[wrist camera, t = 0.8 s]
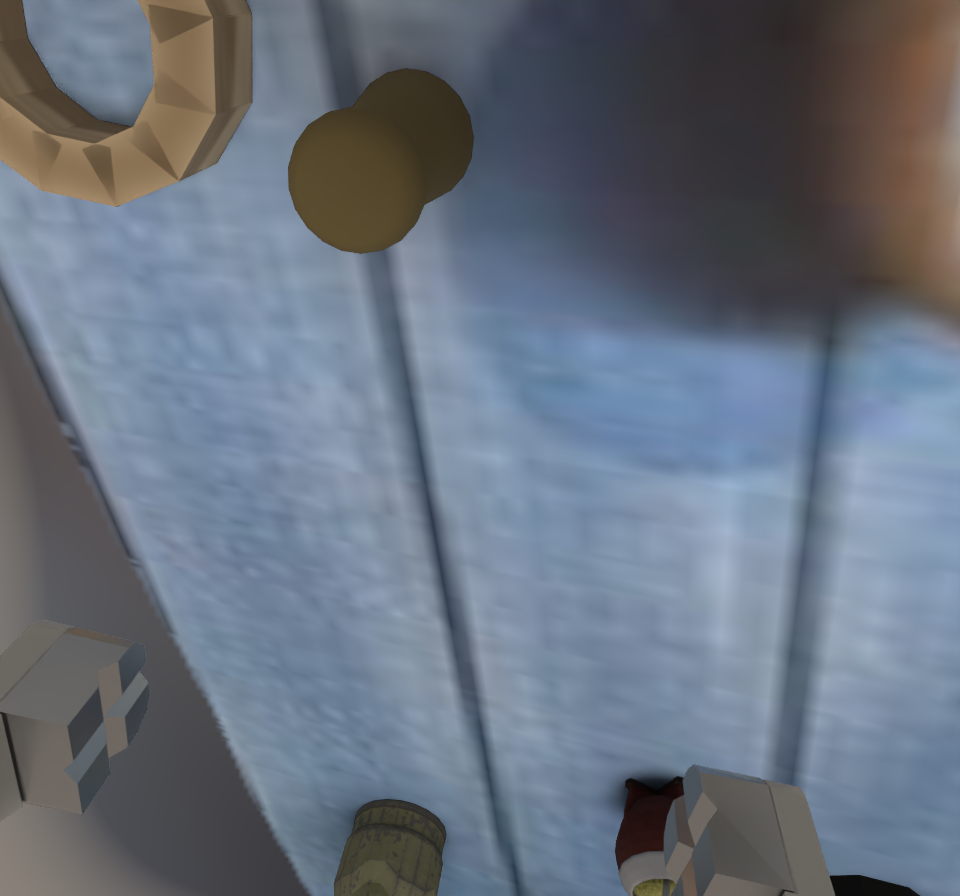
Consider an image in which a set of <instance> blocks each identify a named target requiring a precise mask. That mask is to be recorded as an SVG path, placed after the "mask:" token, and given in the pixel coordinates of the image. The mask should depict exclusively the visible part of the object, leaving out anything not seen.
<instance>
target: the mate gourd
mask: <svg viewBox="0 0 960 896" xmlns="http://www.w3.org/2000/svg"><path fill="white" fill-rule="evenodd" d="M683 779H684V778H682V777H678V776H677V777H676V778H674V779H673V780H672V781H670V782H669V783H667V784H666V785H665V786H663V787H662V788H661V789H659V790H655V789H653V788H651V787H648V786H646V785H644V784H642V783H640V782H638V781H636V780H634V779H631V778H630V779H628V780H627V781H626V782H625V783H626V784H625V787H626V788H628V789H629V793H628V797H627V801H626V805H625V809H624V818H623V820H622V823H621V826H620V830H619V833H618V836H617V840H616V848H615V854H616V861H617V865H618V869H619V876H620V879H621V882H622V885H623V887H624V889H625V890H626V892H627V894H628V895H629V896H671V894H672V892H673V890H674V888H675V886H676V884H675V883H674V881H673V880H672V878H671V877H670V875H669V874H668V872H667V871H666V869H665V861H664V832H665V826H666V821H667V815H668V813H669V810H670V808H671V805H672V803H673V800H675V799H677V798H679V797H681V796H683V795H684V792H683V789H682V788H683Z"/></svg>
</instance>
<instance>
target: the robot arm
mask: <svg viewBox="0 0 960 896" xmlns="http://www.w3.org/2000/svg"><path fill="white" fill-rule="evenodd" d="M145 663H146V655H145V648H144V645H143V644H140V643H137V642H133V641H129V640H125V639H121V638H117V637H113V636H109V635H105V634H101V633H97V632H93V631H89V630H85V629H81V628H77V627H72V626H68V625H64V624H59V623H55V622H51V621H46V620H40V621H38V622H36V623H34V624H32V625H30V626H29V627H28V628H27V629H26V630H25V631H24V632H23V633H22V634H21V635H20V636H19V637H18V638H17V639H16V640H15V641H14V642H13V643H12V644H11V646H9V647H8V648H7V649H6V650H5V651H4V652H3V653H2V655H1V656H0V822H1V821H2V820H3V819H5V818H7V817H8V816H9V815H11V814H12V813H14V812H15V811H17V810H18V809H20V808H21V807H22V805H23V804H22V803H26V804H31V805H36V806H41V807H46V808H52V809H57V810H61V811H66V812H71V813H77V814H83V813H84V812H85V810H86V809H87V807H88V806H89V804H90V803H91V801H92V800H93V798H94V797H95V795H96V793H97V792H98V791H99V789H100V788H101V786H102V785H103V783H104V782H105V780H106V779H107V777H108V776H109V774H110V767H109V757H111V756H112V755H114V754H116V753H118V752H120V751H121V750H123V749H125V748H127V747H128V746H129V744H130V743H131V741H132V740H133V738H134V736H135V735H136V733H137V732H138V730H139V728H140V725H141V723H142V720H143V718H144V715H145V713H146V710H147V705H148V699H149V686H148V682H147V681H146V680H145V678H144V677H143V676H142V675H141V673H140V672H139V671H140V669H141V668H142V667H143V665H144V664H145ZM683 787H684V795H683V796H681V797H679V798H677V799H675V800H673V803H672V805H671V808H670V810H669V813H668V815H667V821H666V826H665V832H664V861H665V869H666V871H667V872H668V874H669V875H670V877H671V878H672V880H673V881H674V883H675V884H676V886H675V888H674V890H673V892H672V894H671V896H835V893H834V890H833V886H832V883H831V880H830V876H829V873H828V869H827V866H826V863H825V859H824V856H823V853H822V849H821V846H820V843H819V839H818V836H817V833H816V829H815V826H814V822H813V819H812V816H811V812H810V809H809V806H808V802H807V799H806V796H805V794H804V792H803V791H802V790H801V788H800V787H796V786H791V785H787V784H782V783H778V782H773V781H769V780H762V779H760V778H757V777H753V776H748V775H743V774H738V773H733V772H728V771H724V770H719V769H714V768H709V767H704V766H700V765H695V764H694V765H692V766H691V767H690V768H689V769H688V770H687V772H686V775H685V777H684V779H683Z"/></svg>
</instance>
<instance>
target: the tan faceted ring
mask: <svg viewBox="0 0 960 896" xmlns="http://www.w3.org/2000/svg"><path fill="white" fill-rule="evenodd" d="M138 2H139V4H140V6H141V8H142V10H143V12H144V14H145V16H146V18H147V20H148V22H149V24H150V31H151V45H152V59H153V73H154V86H153V88H152V90H151V92H150V94H149V96H148V98H147V100H146V102H145V104H144V106H143V108H142V110H141V112H140V114H139V116H138V118H137V120H136V122H135V124H134V126H133V127H129V126H125V125H120V124H115V123H111V122H106V121H101V120H97V119H96V118H94V117H93V116H92V115H91V114H89V113H88V112H87V111H86V110H84V109H83V108H82V107H81V106H79V105H78V104H77V103H75V102H74V101H73V100H72V99H70V98H69V97H68V96H67V95H65V94H64V93H63V92H62V91H60V90H59V89H58V88H57V87H56V86H55V84H54V82H53V81H52V79H51V77H50V76H49V74H48V72H47V71H46V69H45V67H44V65H43V64H42V62H41V60H40V59H39V57H38V55H37V53H36V52H35V50H34V48H33V47H32V45H31V43H30V42H29V40H28V38H27V31H26V25H25V18H24V12H23V5H22V0H0V160H2V161H3V162H4V163H6V164H7V165H8V166H10V167H11V168H12V169H14V170H15V171H16V172H18V173H19V174H20V175H22V176H23V177H24V178H26V179H27V180H28V181H30V182H31V183H32V184H34V185H35V186H36V187H38V188H39V189H40V190H41V191H46V192H51V193H55V194H60V195H65V196H69V197H74V198H79V199H83V200H88V201H92V202H97V203H102V204H106V205H111V206H116V207H117V206H120V205H122V204H124V203H127V202H129V201H131V200H134V199H136V198H139V197H141V196H144V195H146V194H149V193H151V192H153V191H156V190H158V189H161V188H163V187H166V186H168V185H171V184H173V183H175V182H178V181H181V180H183V179H185V178H187V177H189V176H191V175H193V174H195V173H197V172H200V171H202V170H204V169H206V168H208V167H210V166H212V165H214V164H216V163H217V162H218V160H219V158H220V157H221V155H222V153H223V151H224V150H225V148H226V146H227V145H228V143H229V141H230V139H231V138H232V136H233V134H234V132H235V131H236V129H237V127H238V125H239V124H240V122H241V120H242V119H243V117H244V115H245V113H246V112H247V110H248V108H249V106H250V105H251V103H252V13H251V11H250V9H249V7H248V4H247V2H246V0H138Z"/></svg>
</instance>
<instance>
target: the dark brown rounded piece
mask: <svg viewBox="0 0 960 896" xmlns="http://www.w3.org/2000/svg"><path fill="white" fill-rule="evenodd" d="M473 138H474V137H473V131H472V126H471V121H470V116H469V114H468V112H467V110H466V108H465V106H464V104H463V102H462V100H461V98H460V97H459V96H458V94H457V93H456V92H455V91H454V90H453V89H452V88H451V87H450V86H449V85H448V84H447V83H446V82H445V81H443V80H441V79H440V78H438V77H436V76H434V75H432V74H430V73H428V72H426V71H420V70H413V69H401V70H397V71H392V72H387V73H386V74H384V75H382V76H381V77H379V78H378V79H376V80H375V81H373V82H372V83H370V85H369V86H368V87H367V88H366V90H365V91H364V92H363V94H362V95H361V96H360V97H359V99H358V100H357V101H356V103H355V104H354V105H353V107H349V108H344V109H340V110H335V111H331V112H328V113H326V114H324V115H323V116H321V117H320V118H318V119H317V120H315V121H314V122H312V123H311V124H309V125H308V126H307V127H306V129H305V130H304V132H303V133H302V134H301V136H300V137H299V139H298V140H297V141H296V143H295V146H294V148H293V152H292V155H291V159H290V162H289V166H288V181H289V191H290V194H291V197H292V200H293V203H294V207H295V209H296V211H297V213H298V214H299V216H300V217H301V219H302V220H303V222H304V223H305V225H306V226H307V228H308V229H310V230H311V231H312V232H313V233H314V234H315V235H316V236H317V237H318V238H320V239H321V240H322V241H323V242H325V243H327V244H329V245H331V246H333V247H335V248H337V249H339V250H341V251H347V252H353V253H359V254H362V253H368V252H375V251H380V250H384V249H386V248H388V247H390V246H392V245H394V244H395V243H397V242H399V241H401V240H402V239H403V238H404V237H405V236H406V234H407V233H408V232H409V231H410V230H411V229H412V228H413V227H414V225H415V224H416V223H417V221H418V219H419V216H420V214H421V211H422V209H423V207H424V205H425V204H427V203H429V202H431V201H433V200H434V199H436V198H438V197H440V196H442V195H443V194H445V193H447V192H449V191H451V190H452V189H453V188H454V186H455V185H456V184H457V183H458V182H459V181H460V180H461V178H462V177H463V176H464V174H465V172H466V169H467V167H468V165H469V162H470V160H471V158H472V148H473Z"/></svg>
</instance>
